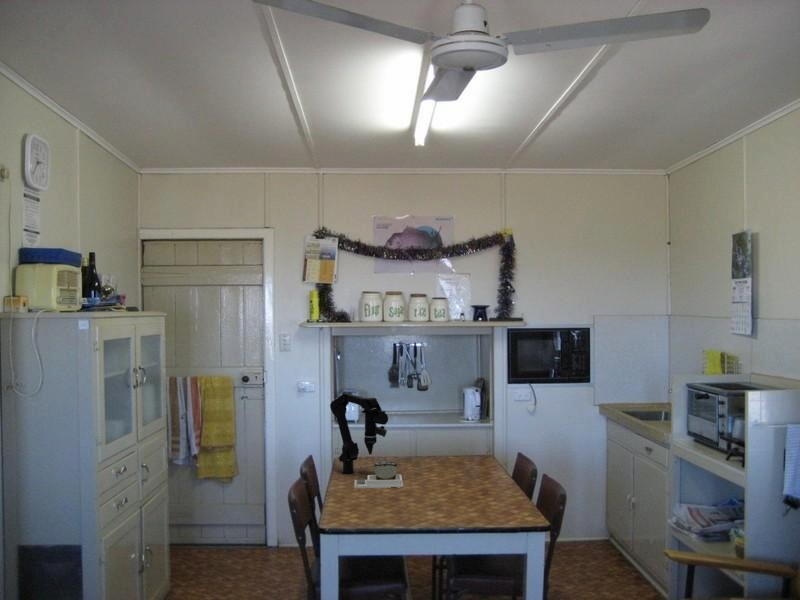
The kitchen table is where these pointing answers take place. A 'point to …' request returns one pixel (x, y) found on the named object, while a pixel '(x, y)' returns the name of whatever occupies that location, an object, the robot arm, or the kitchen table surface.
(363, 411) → the robot arm
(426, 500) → the kitchen table surface
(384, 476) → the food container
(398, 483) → the dock
